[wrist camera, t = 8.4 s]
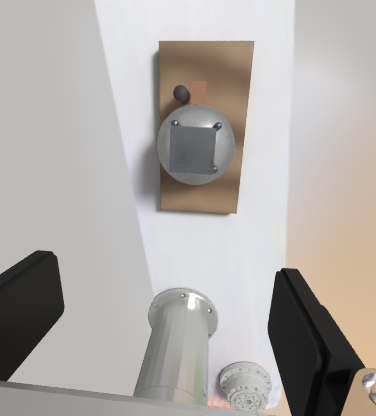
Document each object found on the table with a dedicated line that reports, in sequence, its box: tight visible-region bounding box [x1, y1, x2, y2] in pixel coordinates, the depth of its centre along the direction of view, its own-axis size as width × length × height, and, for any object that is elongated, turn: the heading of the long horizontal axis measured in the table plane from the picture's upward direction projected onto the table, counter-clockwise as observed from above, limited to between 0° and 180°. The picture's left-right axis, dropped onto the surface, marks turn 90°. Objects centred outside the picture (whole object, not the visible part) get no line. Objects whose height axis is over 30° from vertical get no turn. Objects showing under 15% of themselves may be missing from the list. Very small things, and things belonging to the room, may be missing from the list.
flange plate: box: [157, 81, 235, 185], centre depth 25 cm, size 11×9×6 cm
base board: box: [159, 41, 254, 214], centre depth 30 cm, size 21×11×6 cm, turn 179°
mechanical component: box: [220, 362, 272, 413], centre depth 46 cm, size 10×4×10 cm
